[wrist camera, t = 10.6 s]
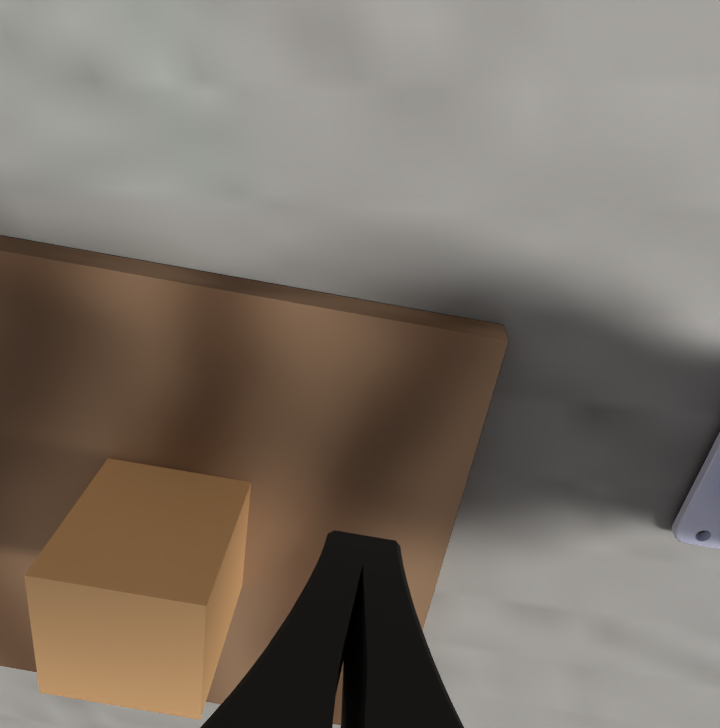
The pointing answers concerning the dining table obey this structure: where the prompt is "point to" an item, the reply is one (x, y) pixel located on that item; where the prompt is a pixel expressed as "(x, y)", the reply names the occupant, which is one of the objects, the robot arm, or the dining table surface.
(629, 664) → the dining table surface
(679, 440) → the dining table surface
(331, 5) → the dining table surface
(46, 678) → the tan wooden cube
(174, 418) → the base board
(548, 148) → the dining table surface
